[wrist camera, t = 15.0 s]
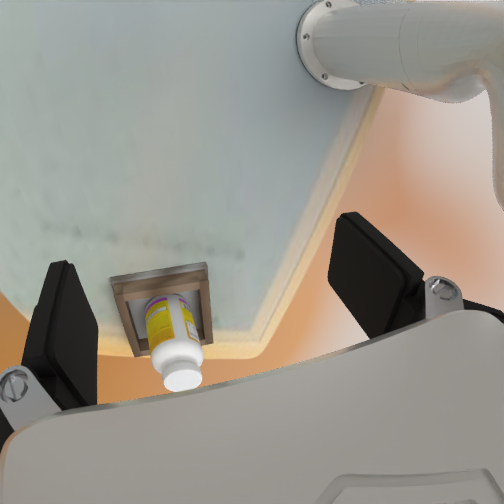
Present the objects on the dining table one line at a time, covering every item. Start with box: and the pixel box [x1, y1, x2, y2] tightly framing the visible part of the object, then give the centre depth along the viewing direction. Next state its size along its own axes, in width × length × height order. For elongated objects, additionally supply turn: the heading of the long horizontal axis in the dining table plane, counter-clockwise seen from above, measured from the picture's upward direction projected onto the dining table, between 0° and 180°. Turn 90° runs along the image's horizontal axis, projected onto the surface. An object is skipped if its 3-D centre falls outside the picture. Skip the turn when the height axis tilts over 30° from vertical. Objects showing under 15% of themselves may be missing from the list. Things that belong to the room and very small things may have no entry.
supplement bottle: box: [145, 294, 204, 392], centre depth 40 cm, size 7×7×13 cm
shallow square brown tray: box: [111, 262, 213, 357], centre depth 44 cm, size 13×13×4 cm
